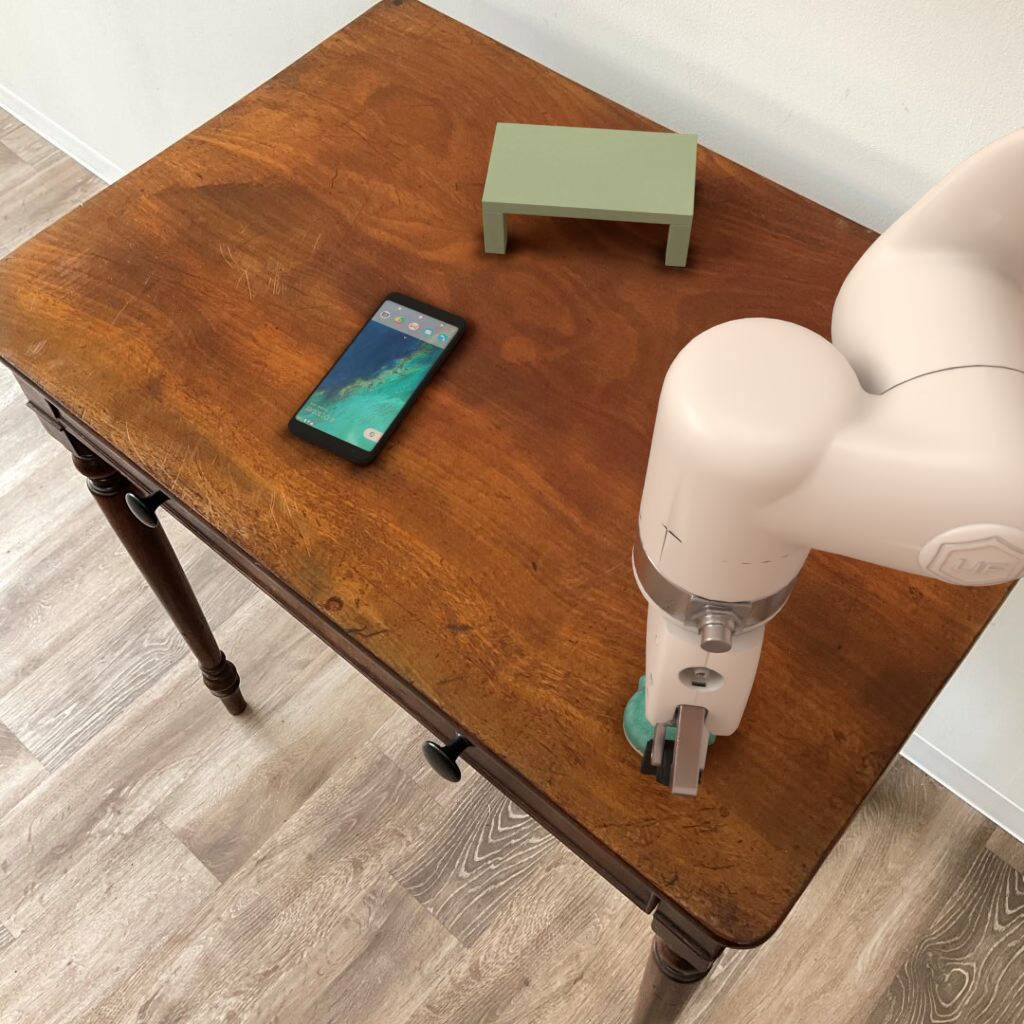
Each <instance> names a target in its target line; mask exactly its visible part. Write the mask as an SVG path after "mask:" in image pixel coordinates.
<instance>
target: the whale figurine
mask: <svg viewBox="0 0 1024 1024" xmlns="http://www.w3.org/2000/svg"><path fill="white" fill-rule="evenodd" d="M645 683H646V674H643V675H641V676H640V678H639V679H638V689H637V691H636V692H635V693H634V694H633V695H632V696H631V697H630V698H629V700H628V701H627V703H626V705H625V707H624V712H623V716H622V717H623V719H622V726H623V733H624V736H625V738H626V740H627V742H628V743H629V745H630V746H631V748H633V750H634V751H635V752H636V753H637V754H639V755H640V756H641V757H643V755H644V751H645V748H646V744H647V741H649V740H650V739H653V737H654V730H655V727H654V726H653V725H652V724H651V723H650V722H649V721H648V719H647V718H646V703H645ZM677 707H678V706H677ZM675 734H676V727H669V726H667V729H666V737H665V739H667V740H675ZM716 740H717V735H713V734H711V732H710V734H709V741H708V746H710V745H713V744H714V743H715V742H716Z"/></svg>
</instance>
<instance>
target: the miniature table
mask: <svg viewBox="0 0 1024 1024" xmlns="http://www.w3.org/2000/svg"><path fill="white" fill-rule="evenodd" d="M698 136H699V135H698V134H695V133H694V134H692V133H676V132H662V131H661V132H660V131H659V132H658V131H644V130H643V131H642V130H630V129H629V130H628V129H626V130H625V129H614V128H613V129H611V128H595V127H579V126H565V125H563V126H562V125H549V124H548V125H546V124H533V123H531V124H530V123H513V122H496V127H495V132H494V136H493V141H492V142H493V143H492V147H491V152H490V157H489V162H488V167H487V173H486V177H485V184H484V186H483V187H484V188H483V193H482V198H481V210H482V224H483V240H484V252H485V253H486V254H497V255H505V254H506V250H507V244H508V225H507V214H513V215H514V214H515V215H526V216H527V215H528V216H541V217H543V216H544V217H556V218H557V217H558V218H571V219H574V218H575V219H583V220H584V219H587V220H598V221H599V220H601V221H616V222H629V223H644V224H656V225H657V224H660V225H668V226H669V227H668V233H667V241H666V249H665V261H664V262H665V263H664V264H665V266H666V267H680V268H683V267H684V268H686V265H687V259H688V252H689V246H690V241H691V239H690V238H691V232H692V225H693V219H694V208H695V206H694V205H695V188H696V173H697V171H696V170H697V154H698V151H697V150H698V139H699V138H698Z"/></svg>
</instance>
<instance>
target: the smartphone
mask: <svg viewBox="0 0 1024 1024" xmlns="http://www.w3.org/2000/svg"><path fill="white" fill-rule="evenodd" d="M467 328H468V323H467V320H466V319H465V318H464V317H462V316H460V315H458V314H455V313H452V312H449V311H447V310H445V309H442V308H441V307H440V308H439V307H437V306H434V305H432V304H429V303H427V302H425V301H422V300H419V299H417V298H414V297H411V296H409V295H407V294H404V293H402V292H397V291H396V292H390V293H388V294H387V295H386V296H385V298H384V299H382V301H381V302H380V304H379V305H378V307H376V309H375V310H374V311H373V313H372V314H371V315H370V316H369V318H368V319H367V321H365V323H364V324H363V326H362V327H361V328H360V329H359V331H358V332H357V333H356V334H355V336H353V338H352V340H351V341H350V342H349V344H347V346H346V347H345V349H344V350H343V351H342V353H341V354H340V355H338V356H339V357H338V358H337V359H336V360H335V362H334V363H333V364H332V365H331V367H329V369H328V371H326V373H325V374H324V375H323V377H322V378H321V379H320V381H319V382H318V383H317V385H316V386H315V387H314V388H313V390H312V391H311V392H310V394H309V395H308V396H307V398H305V400H304V401H303V402H302V404H301V405H300V406H299V407H298V409H297V410H296V411H295V412H294V414H293V415H292V417H291V418H290V419H289V421H288V422H287V430H288V432H289V434H291V435H292V436H295V437H296V438H298V439H301V440H303V441H304V442H308V443H310V444H312V445H315V446H317V447H318V448H321V449H323V450H326V451H328V452H330V453H332V454H335V455H337V456H339V457H341V458H343V459H345V460H348V461H351V462H353V463H355V464H357V465H369V463H371V462H373V460H374V459H375V457H376V456H377V455H378V453H379V452H380V451H381V449H382V448H383V446H384V445H385V444H386V442H387V441H388V439H389V438H390V437H391V435H393V433H394V431H395V430H396V428H397V427H398V426H399V424H400V423H401V421H402V420H403V419H404V417H405V416H406V414H407V413H408V412H409V410H410V409H411V407H412V406H413V405H414V403H415V402H416V400H418V398H419V396H420V395H421V393H422V392H423V391H424V389H425V388H426V386H427V385H428V384H429V382H430V381H431V380H432V379H433V377H434V376H435V374H436V372H437V371H438V370H439V368H440V367H441V366H442V364H443V363H444V362H445V360H446V359H447V357H448V356H449V354H450V353H451V352H452V350H453V349H454V347H455V346H456V344H458V342H459V340H460V339H461V338H462V337H463V335H464V334H465V332H466V331H467Z"/></svg>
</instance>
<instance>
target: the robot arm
mask: <svg viewBox="0 0 1024 1024" xmlns="http://www.w3.org/2000/svg"><path fill="white" fill-rule="evenodd" d="M830 334H831V335H830V336H831V342H830V341H828V339H826V338H824V337H823V336H822V335H820V334H818V333H817V332H815V331H813V330H811V329H809V328H808V327H804V326H802V325H799V324H797V323H795V322H791V321H786V320H783V319H777V318H769V317H744V318H739V319H732V320H729V321H725V322H722V323H720V324H719V323H718V324H717V325H714V326H712V327H710V328H708V329H707V330H705V331H703V332H701V333H700V334H698V335H696V336H695V337H693V338H692V339H691V340H690V341H689V342H688V343H687V344H686V345H685V346H684V347H683V348H682V349H681V350H680V351H679V352H678V354H677V355H676V356H675V358H674V359H673V361H672V363H671V364H670V366H669V368H668V370H667V371H666V374H665V377H664V380H663V383H662V388H661V391H660V395H659V398H658V399H659V401H658V404H657V410H656V411H657V412H656V417H655V422H654V428H653V433H652V439H651V445H650V450H649V457H648V461H647V468H646V473H645V480H644V485H643V490H642V494H641V500H640V507H639V511H638V517H637V523H636V528H635V534H634V539H633V540H634V541H633V546H632V552H631V565H632V570H633V571H632V572H633V576H634V579H635V581H636V585H637V587H638V589H639V591H640V592H641V595H642V596H643V597H644V599H645V600H646V602H648V605H647V617H646V618H647V619H646V637H645V638H646V640H645V642H646V643H645V675H646V683H645V703H646V718H647V719H648V721H649V722H650V723H651V724H652V725H653V726H654V727H655V730H654V737H653V739H650V740H649V741H647V744H646V748H645V751H644V755H643V756H642V758H641V762H640V773H641V774H643V775H646V776H655V781H656V782H657V783H658V784H661V785H662V786H663V787H668V790H669V793H670V794H671V795H675V796H683V797H684V796H685V797H692V798H697V794H698V788H699V785H701V783H702V782H701V779H702V772H704V771H705V767H706V761H707V759H708V754H709V753H708V750H709V748H708V747H709V745H708V741H709V734H710V732H711V734H713V735H716V736H725V737H727V736H731V735H732V734H734V733H735V732H736V730H737V729H739V725H740V723H741V721H742V717H743V715H744V711H745V709H746V707H747V704H748V700H749V697H750V694H751V691H752V688H753V685H754V681H755V678H756V674H757V670H758V666H759V662H760V657H761V652H762V648H763V643H764V636H765V630H766V624H767V623H768V622H770V621H771V620H772V619H774V617H775V616H777V614H778V613H780V611H782V609H783V608H784V606H785V605H786V604H787V602H788V600H789V598H790V596H791V594H792V591H793V589H794V587H795V585H796V582H797V580H798V578H799V576H800V574H801V571H802V569H803V567H804V566H805V563H806V560H807V558H808V556H809V554H810V551H811V550H817V551H822V552H827V553H831V554H836V555H840V556H842V557H843V556H844V557H847V558H850V559H854V560H857V561H858V560H859V561H862V562H866V563H870V564H874V565H877V566H881V567H885V568H889V569H892V570H896V571H901V572H904V573H908V574H912V575H917V576H920V577H925V578H930V579H936V580H938V581H941V582H944V583H948V584H951V585H957V586H961V587H987V586H994V585H1000V584H1001V585H1002V584H1004V583H1008V582H1012V581H1015V580H1020V579H1023V578H1024V126H1023V127H1020V128H1017V129H1015V130H1013V131H1010V132H1009V133H1007V134H1005V135H1003V136H1001V137H999V138H997V139H995V140H993V141H991V142H989V143H988V144H986V145H984V146H983V147H981V148H980V149H978V150H977V151H975V152H974V153H972V154H971V155H969V156H968V157H967V158H966V159H964V160H963V161H962V162H960V163H959V164H957V166H955V167H954V168H953V169H951V170H950V171H949V172H948V173H947V174H946V175H945V176H944V177H943V178H942V179H940V180H939V181H938V182H937V183H935V185H933V187H931V188H930V189H929V190H928V191H927V192H926V193H925V194H924V195H922V196H921V198H919V199H918V200H917V201H916V202H914V204H912V206H910V207H909V208H908V209H907V210H906V211H905V212H904V213H903V214H902V215H901V216H900V217H898V219H896V220H895V221H894V222H893V223H892V224H891V225H890V226H889V227H888V228H887V229H886V230H884V232H883V233H882V234H881V235H879V236H878V237H877V238H876V240H874V242H873V243H872V244H871V245H870V246H869V247H868V248H867V249H866V251H865V252H864V253H863V254H862V255H861V257H860V258H859V259H858V261H857V262H856V263H855V264H854V266H853V268H852V269H851V270H850V271H849V273H848V274H847V276H846V277H845V279H844V281H843V282H842V284H841V287H840V289H839V292H838V294H837V296H836V298H835V301H834V305H833V307H832V315H831V326H830ZM677 706H678V707H677ZM667 726H669V727H676V734H675V740H667V739H665V737H666V729H667Z"/></svg>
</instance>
